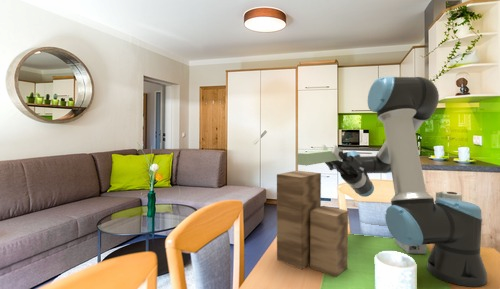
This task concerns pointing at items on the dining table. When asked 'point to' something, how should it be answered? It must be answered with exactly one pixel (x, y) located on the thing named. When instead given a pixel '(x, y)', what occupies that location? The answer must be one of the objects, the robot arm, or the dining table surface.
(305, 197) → the walnut stand
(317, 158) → the sage bar
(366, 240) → the dining table surface
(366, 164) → the robot arm
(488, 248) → the dining table surface
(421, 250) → the light bulb box
